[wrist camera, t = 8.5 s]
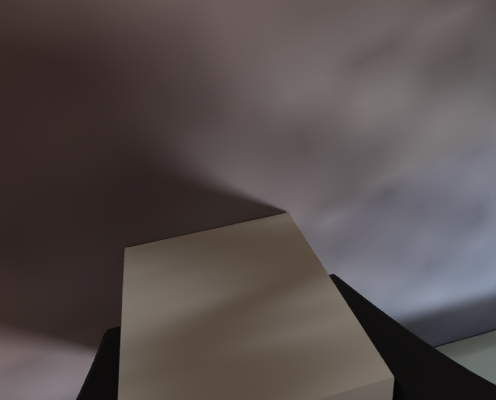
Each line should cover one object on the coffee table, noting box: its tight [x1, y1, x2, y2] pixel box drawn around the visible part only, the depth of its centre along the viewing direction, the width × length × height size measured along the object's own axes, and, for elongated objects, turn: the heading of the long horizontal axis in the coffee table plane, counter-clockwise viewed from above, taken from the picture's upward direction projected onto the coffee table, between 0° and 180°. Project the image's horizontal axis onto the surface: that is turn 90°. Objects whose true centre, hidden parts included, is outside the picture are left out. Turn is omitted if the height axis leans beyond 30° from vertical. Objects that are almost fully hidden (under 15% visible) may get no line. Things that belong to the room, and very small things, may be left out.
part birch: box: [118, 213, 394, 400], centre depth 9 cm, size 4×4×5 cm
